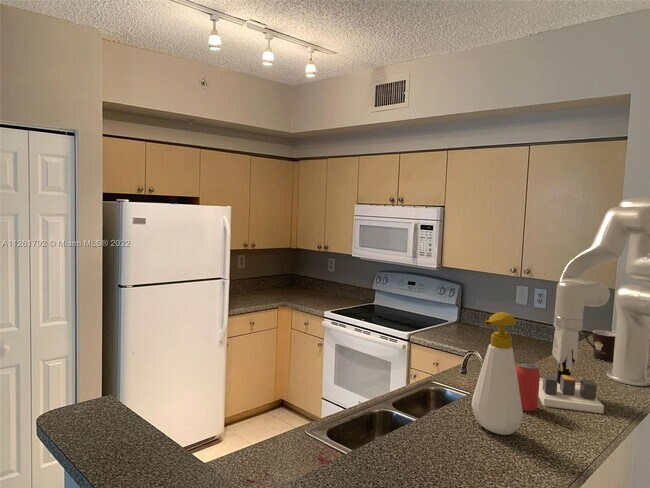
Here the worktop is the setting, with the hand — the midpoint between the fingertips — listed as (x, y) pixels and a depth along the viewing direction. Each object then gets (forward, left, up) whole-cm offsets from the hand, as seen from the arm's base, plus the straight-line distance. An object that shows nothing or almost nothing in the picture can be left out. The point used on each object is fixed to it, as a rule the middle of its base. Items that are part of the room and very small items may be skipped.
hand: (563, 383), depth 142 cm
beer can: (+15, -13, -3) cm, 20 cm away
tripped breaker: (+4, 0, -1) cm, 4 cm away
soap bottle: (+33, -23, -3) cm, 40 cm away
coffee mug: (-47, +24, -3) cm, 52 cm away
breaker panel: (+3, 0, -3) cm, 4 cm away
